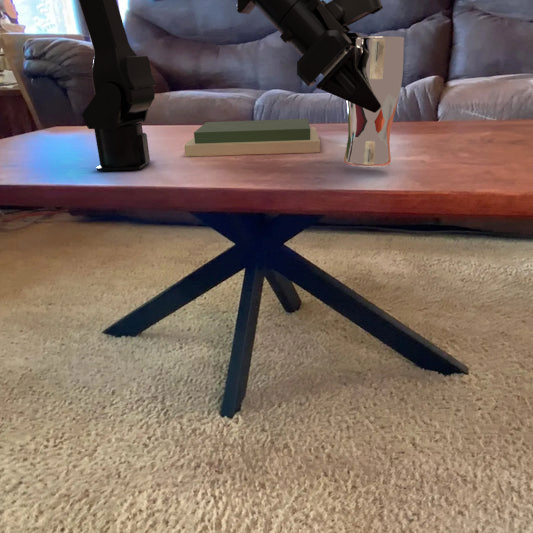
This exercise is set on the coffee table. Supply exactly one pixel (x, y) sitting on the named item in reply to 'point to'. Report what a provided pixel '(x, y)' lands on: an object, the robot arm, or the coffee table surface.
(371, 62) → the beer glass
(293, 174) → the coffee table surface
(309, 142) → the book stack
